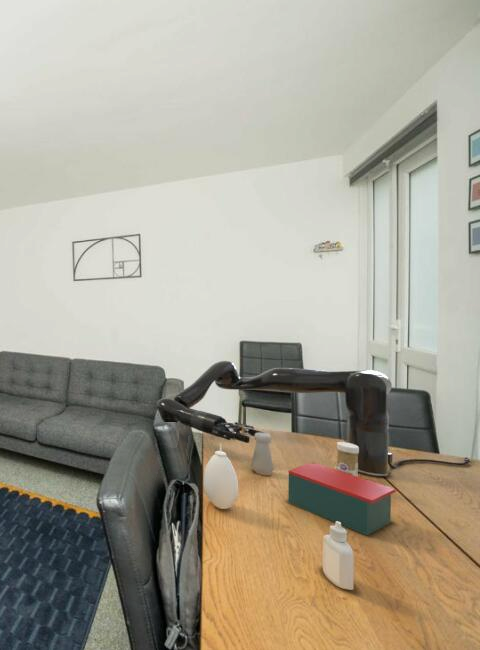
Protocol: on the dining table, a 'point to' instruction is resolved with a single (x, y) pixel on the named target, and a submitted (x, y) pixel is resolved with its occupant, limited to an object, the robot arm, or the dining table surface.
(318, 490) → the lunchbox
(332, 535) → the eye dropper bottle
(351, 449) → the sprinkles bottle
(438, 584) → the dining table surface
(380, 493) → the lid
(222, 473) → the sauce bottle
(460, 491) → the dining table surface
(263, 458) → the salt shaker
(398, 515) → the dining table surface
